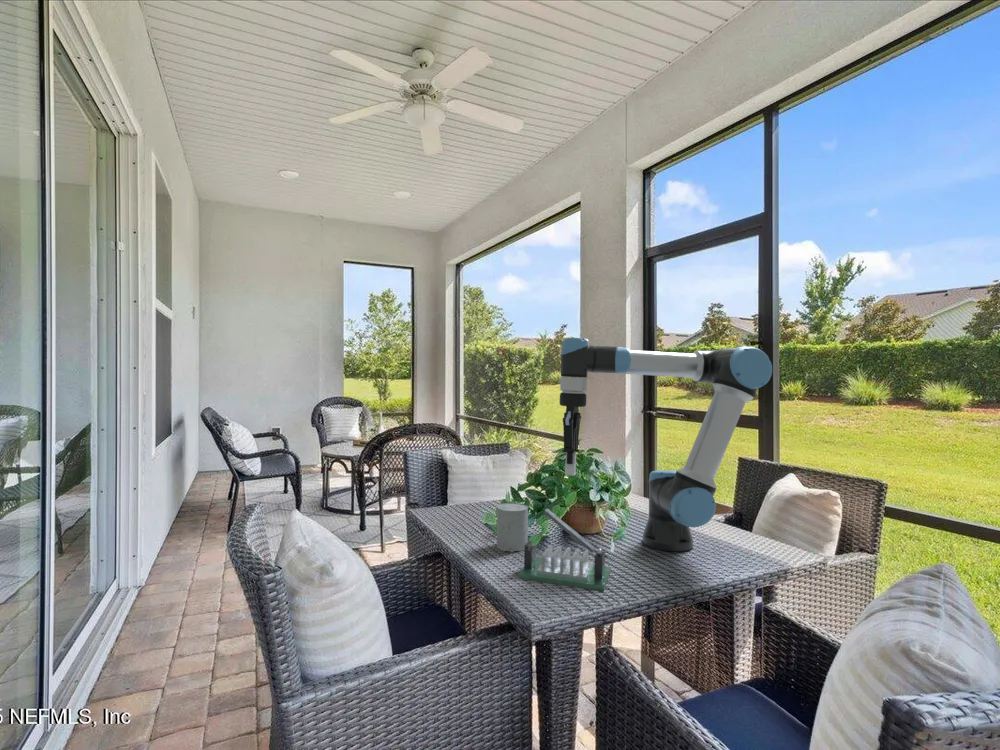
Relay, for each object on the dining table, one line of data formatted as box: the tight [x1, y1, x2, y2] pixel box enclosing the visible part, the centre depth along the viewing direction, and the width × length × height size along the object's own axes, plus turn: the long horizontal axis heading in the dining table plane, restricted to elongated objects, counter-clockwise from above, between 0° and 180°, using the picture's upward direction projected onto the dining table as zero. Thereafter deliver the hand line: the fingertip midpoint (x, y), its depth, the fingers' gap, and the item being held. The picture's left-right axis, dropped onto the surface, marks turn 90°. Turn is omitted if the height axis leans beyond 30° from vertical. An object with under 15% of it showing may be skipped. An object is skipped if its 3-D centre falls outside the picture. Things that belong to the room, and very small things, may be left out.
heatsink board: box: [518, 540, 611, 592], centre depth 138 cm, size 22×13×7 cm, turn 71°
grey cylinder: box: [496, 502, 529, 553], centre depth 160 cm, size 10×10×12 cm
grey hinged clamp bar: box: [543, 507, 604, 556], centre depth 137 cm, size 18×3×2 cm
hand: (570, 474), depth 148 cm, fingers closed
